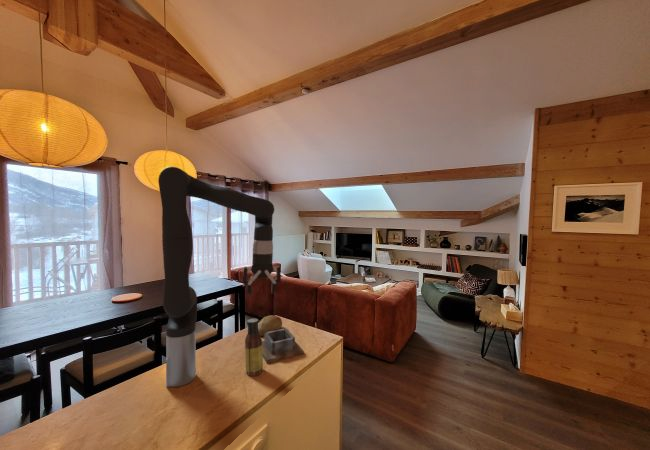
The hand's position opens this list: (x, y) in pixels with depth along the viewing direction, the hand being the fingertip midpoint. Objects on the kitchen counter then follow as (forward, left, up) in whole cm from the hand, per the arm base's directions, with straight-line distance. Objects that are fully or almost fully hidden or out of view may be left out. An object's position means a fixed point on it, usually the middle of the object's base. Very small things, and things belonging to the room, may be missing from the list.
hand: (261, 293), depth 101 cm
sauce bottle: (-3, -2, -29) cm, 30 cm away
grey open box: (+11, +9, -29) cm, 32 cm away
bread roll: (+13, +29, -30) cm, 43 cm away
